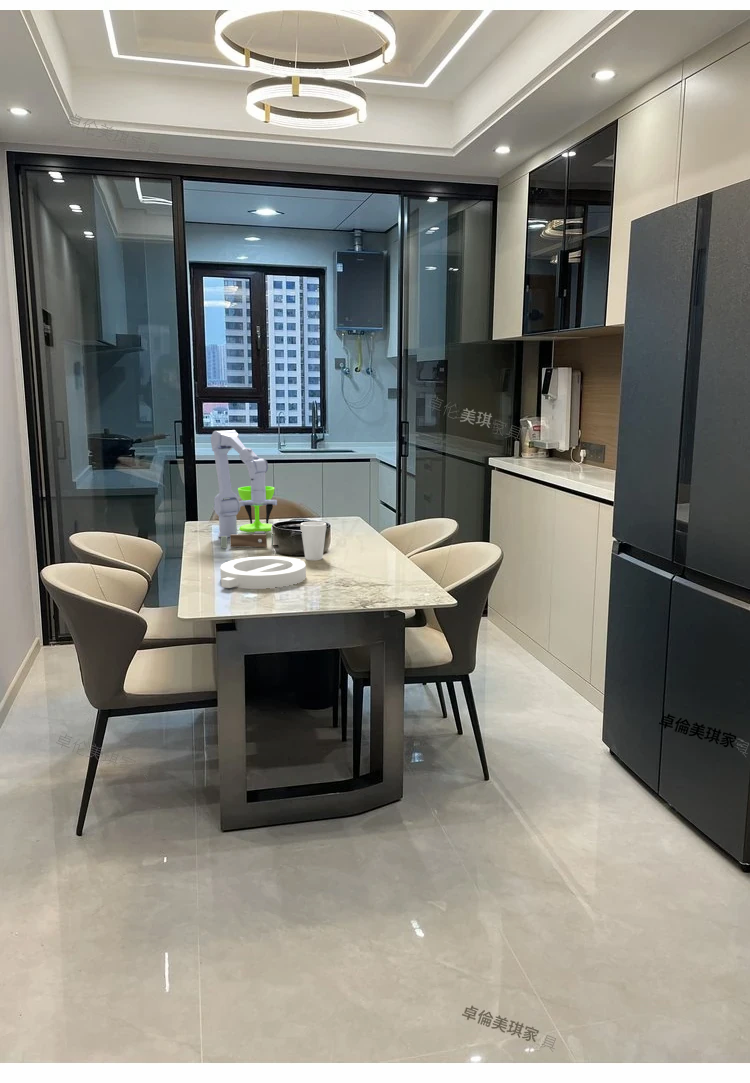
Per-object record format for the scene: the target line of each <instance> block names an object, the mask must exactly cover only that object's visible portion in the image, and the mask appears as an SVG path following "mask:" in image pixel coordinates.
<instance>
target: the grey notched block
mask: <svg viewBox="0 0 750 1083" xmlns="http://www.w3.org/2000/svg"><path fill="white" fill-rule="evenodd" d="M253 533H254V534H266V532H265V531H255V532H253Z"/></svg>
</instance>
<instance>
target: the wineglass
mask: <svg viewBox="0 0 750 1083" xmlns="http://www.w3.org/2000/svg"><path fill="white" fill-rule="evenodd" d="M265 488H266V500H272V498H273V496H274V494H275V488H276V487H274V486H270V485H269V486H268V485H265ZM237 492H238V495H239V497H240V499H241V501H245V500H251V485H248V486H240V487H238V488H237ZM263 504H264V503H263ZM262 506H263V505H257V506H254V522H252V524H250V523H247V524H242V525H241V526H239V531H241V532H247V533H254V532H255V531H265V533H266V532H271V527H272V525H273V524H272V523H268V524H266V522H265V523H262V522H261V521H260V507H262Z"/></svg>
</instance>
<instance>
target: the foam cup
mask: <svg viewBox="0 0 750 1083" xmlns="http://www.w3.org/2000/svg"><path fill="white" fill-rule="evenodd" d="M300 532H302V533H301V538H302V546H303V553H304V559H305V560H307V561H320V560H322V559H323V557H324V551H325V550H324V548H325V540H326V532H327V523H326V522H323V521H304V522H301V523H300Z"/></svg>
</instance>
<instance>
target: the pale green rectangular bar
mask: <svg viewBox="0 0 750 1083" xmlns="http://www.w3.org/2000/svg"><path fill="white" fill-rule="evenodd" d="M272 534H273V533H271V535H270V536H271V537H270V538H271V546H272V547H274V546H273V535H272ZM220 544H221V545H220V547H221V549H227V548H228V537H227V536H221V537H220Z"/></svg>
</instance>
